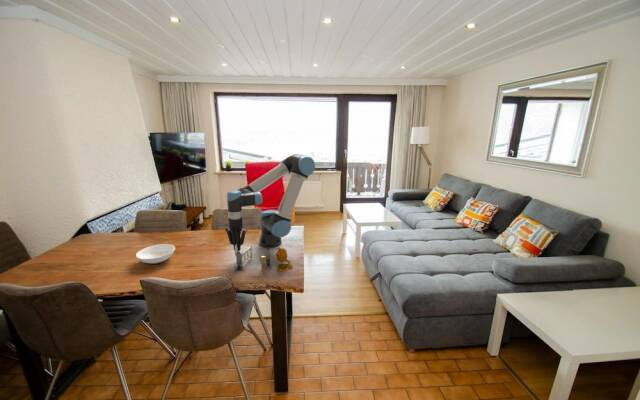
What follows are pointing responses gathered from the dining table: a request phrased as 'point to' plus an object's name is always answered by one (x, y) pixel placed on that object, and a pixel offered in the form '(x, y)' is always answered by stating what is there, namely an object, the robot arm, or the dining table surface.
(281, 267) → the figurine
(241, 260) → the gate
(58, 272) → the dining table surface
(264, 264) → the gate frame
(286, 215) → the robot arm
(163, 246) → the bowl
